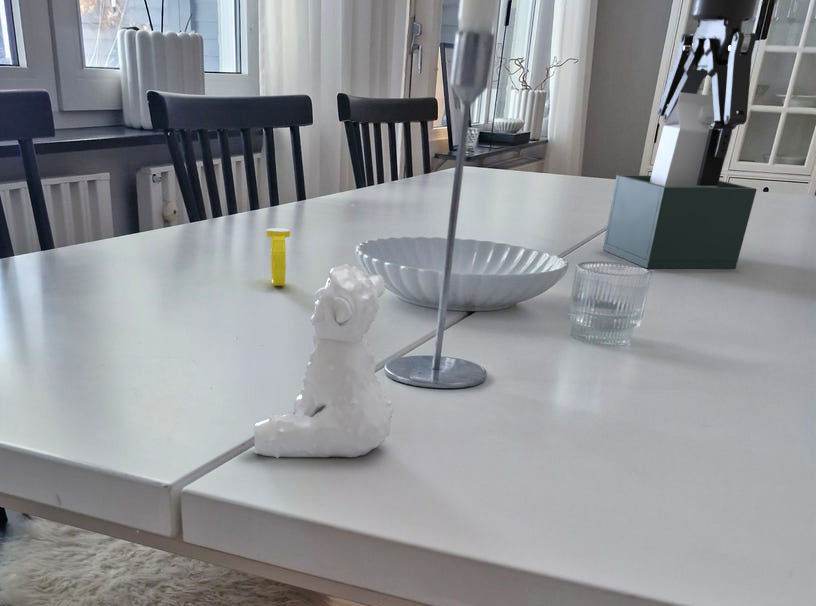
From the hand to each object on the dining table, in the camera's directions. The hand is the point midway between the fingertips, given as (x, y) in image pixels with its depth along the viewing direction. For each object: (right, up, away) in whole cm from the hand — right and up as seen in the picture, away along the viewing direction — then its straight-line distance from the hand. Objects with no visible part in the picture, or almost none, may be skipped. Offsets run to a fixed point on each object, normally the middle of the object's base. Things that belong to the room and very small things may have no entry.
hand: (685, 180), depth 123 cm
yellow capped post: (-55, -22, -18) cm, 62 cm away
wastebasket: (0, -8, +6) cm, 10 cm away
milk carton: (-1, -7, +5) cm, 9 cm away
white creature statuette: (-49, -50, -60) cm, 92 cm away
